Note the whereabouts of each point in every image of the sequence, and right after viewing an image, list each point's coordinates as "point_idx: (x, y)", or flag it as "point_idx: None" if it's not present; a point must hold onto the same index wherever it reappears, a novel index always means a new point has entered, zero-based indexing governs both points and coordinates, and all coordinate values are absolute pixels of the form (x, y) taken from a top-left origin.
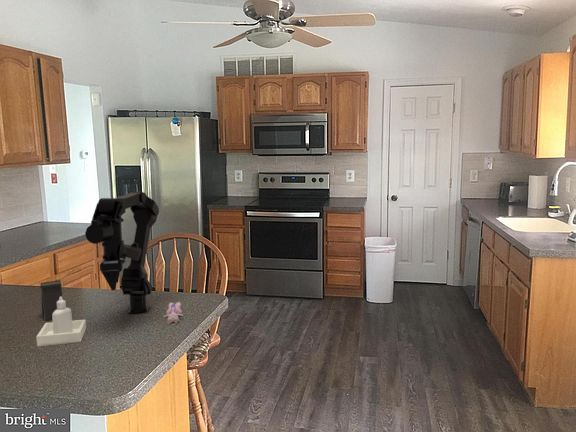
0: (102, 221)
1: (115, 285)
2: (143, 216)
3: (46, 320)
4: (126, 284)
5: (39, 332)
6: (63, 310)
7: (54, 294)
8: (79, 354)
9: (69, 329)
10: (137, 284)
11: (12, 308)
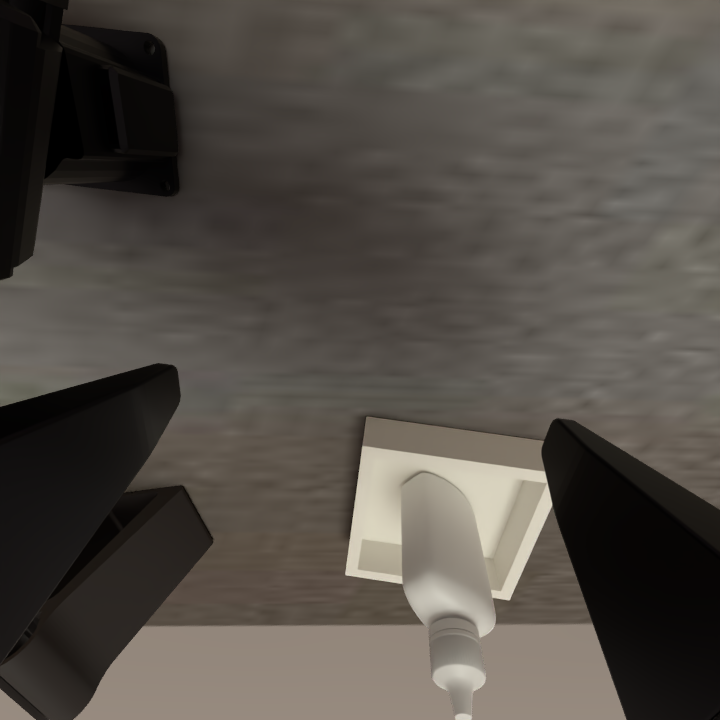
0: None
1: (635, 464)
2: None
3: (211, 539)
4: (3, 225)
5: None
6: (479, 615)
7: (97, 613)
8: (702, 447)
9: (449, 499)
10: (14, 63)
11: None
